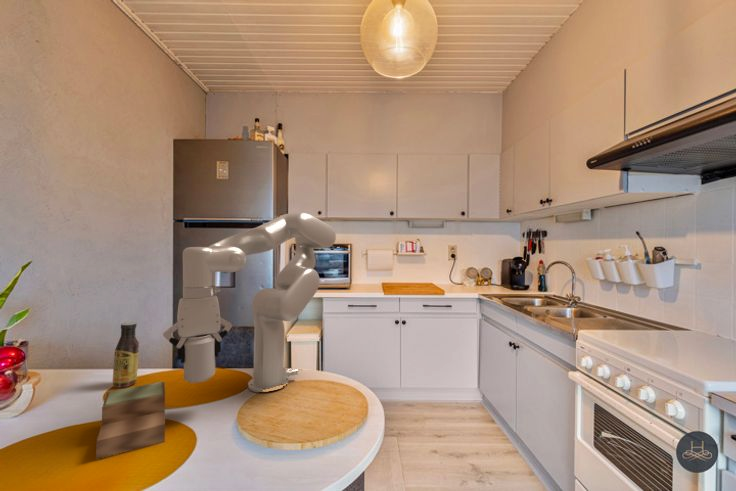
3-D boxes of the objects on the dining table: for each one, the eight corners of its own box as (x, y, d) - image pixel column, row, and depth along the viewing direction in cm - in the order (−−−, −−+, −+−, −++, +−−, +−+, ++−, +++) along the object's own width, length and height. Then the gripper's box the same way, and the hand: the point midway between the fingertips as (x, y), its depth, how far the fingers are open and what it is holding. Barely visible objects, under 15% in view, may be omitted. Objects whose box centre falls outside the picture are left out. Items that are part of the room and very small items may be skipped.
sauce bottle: (107, 388, 99) (109, 325, 99) (125, 380, 105) (127, 320, 105) (125, 389, 98) (127, 326, 98) (142, 381, 104) (144, 321, 104)
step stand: (163, 411, 85) (164, 380, 85) (164, 441, 72) (165, 405, 72) (106, 424, 79) (107, 391, 79) (96, 460, 65) (97, 420, 65)
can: (201, 385, 80) (201, 338, 80) (176, 382, 81) (176, 336, 81) (221, 373, 87) (221, 330, 87) (197, 371, 89) (197, 329, 89)
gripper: (231, 288, 92) (231, 348, 92) (160, 293, 82) (160, 360, 82) (236, 291, 86) (236, 356, 86) (160, 298, 76) (161, 370, 76)
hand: (199, 357), depth 84 cm, fingers closed on can, 7 cm apart
